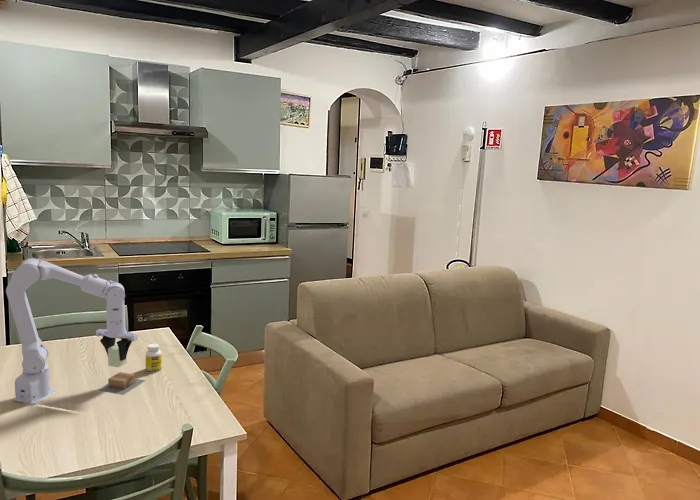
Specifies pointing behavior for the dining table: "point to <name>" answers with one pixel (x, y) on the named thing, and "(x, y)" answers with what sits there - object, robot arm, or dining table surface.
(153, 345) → the supplement bottle
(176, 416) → the dining table surface
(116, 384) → the walnut block
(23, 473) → the dining table surface
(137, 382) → the mat
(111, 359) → the sage pillar
